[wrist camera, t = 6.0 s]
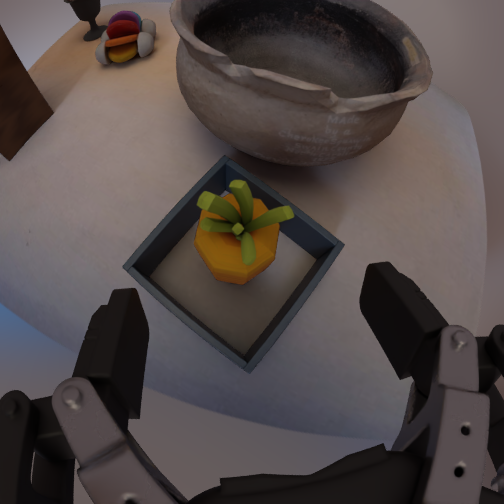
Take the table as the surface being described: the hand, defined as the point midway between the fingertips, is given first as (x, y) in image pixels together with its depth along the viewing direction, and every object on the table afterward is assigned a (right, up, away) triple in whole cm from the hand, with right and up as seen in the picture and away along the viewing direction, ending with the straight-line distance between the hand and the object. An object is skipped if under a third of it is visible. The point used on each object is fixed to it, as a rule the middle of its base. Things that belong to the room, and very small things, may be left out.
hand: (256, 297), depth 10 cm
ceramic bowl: (+3, +17, +21) cm, 28 cm away
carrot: (-2, 0, +17) cm, 17 cm away
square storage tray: (-2, 0, +16) cm, 17 cm away
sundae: (-27, +40, +24) cm, 54 cm away
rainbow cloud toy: (-18, +32, +23) cm, 43 cm away
